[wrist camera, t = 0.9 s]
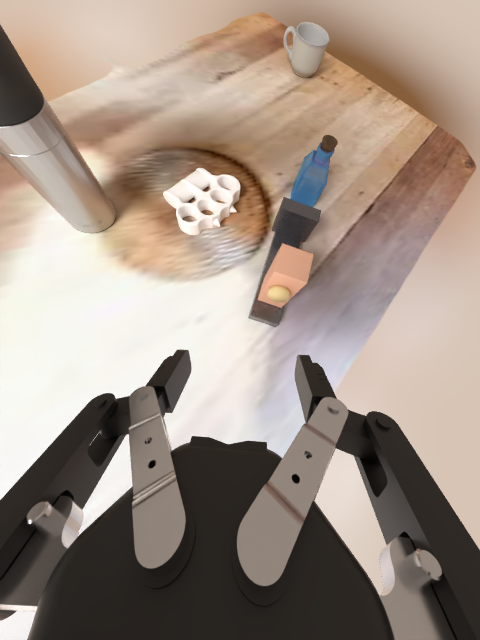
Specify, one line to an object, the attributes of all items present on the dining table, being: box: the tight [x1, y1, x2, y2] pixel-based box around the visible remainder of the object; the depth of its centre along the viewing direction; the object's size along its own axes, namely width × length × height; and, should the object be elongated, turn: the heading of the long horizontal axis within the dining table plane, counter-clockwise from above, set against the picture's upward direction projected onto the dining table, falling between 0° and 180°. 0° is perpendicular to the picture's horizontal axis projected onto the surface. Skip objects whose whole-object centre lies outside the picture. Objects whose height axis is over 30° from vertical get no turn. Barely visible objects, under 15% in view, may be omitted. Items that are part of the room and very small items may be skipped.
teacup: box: [284, 22, 329, 78], centre depth 59 cm, size 14×11×8 cm
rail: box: [248, 197, 321, 327], centre depth 37 cm, size 24×8×8 cm, turn 163°
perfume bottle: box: [291, 135, 338, 207], centre depth 42 cm, size 6×6×12 cm
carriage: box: [257, 243, 314, 308], centre depth 31 cm, size 6×5×11 cm
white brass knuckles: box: [163, 168, 240, 235], centre depth 42 cm, size 3×18×15 cm
